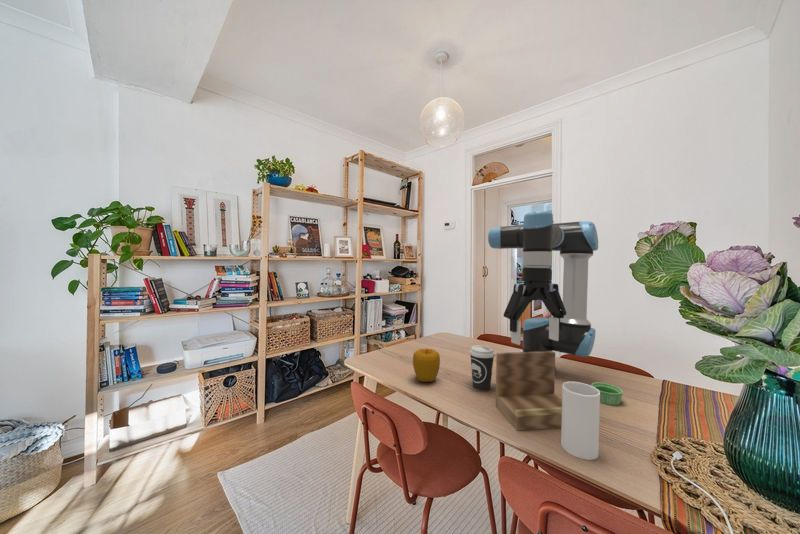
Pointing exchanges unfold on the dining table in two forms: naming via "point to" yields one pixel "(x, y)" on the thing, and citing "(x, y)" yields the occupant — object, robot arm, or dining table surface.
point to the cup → (580, 420)
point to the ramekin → (608, 393)
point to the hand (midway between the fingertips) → (535, 341)
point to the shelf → (528, 390)
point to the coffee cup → (481, 366)
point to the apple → (426, 364)
